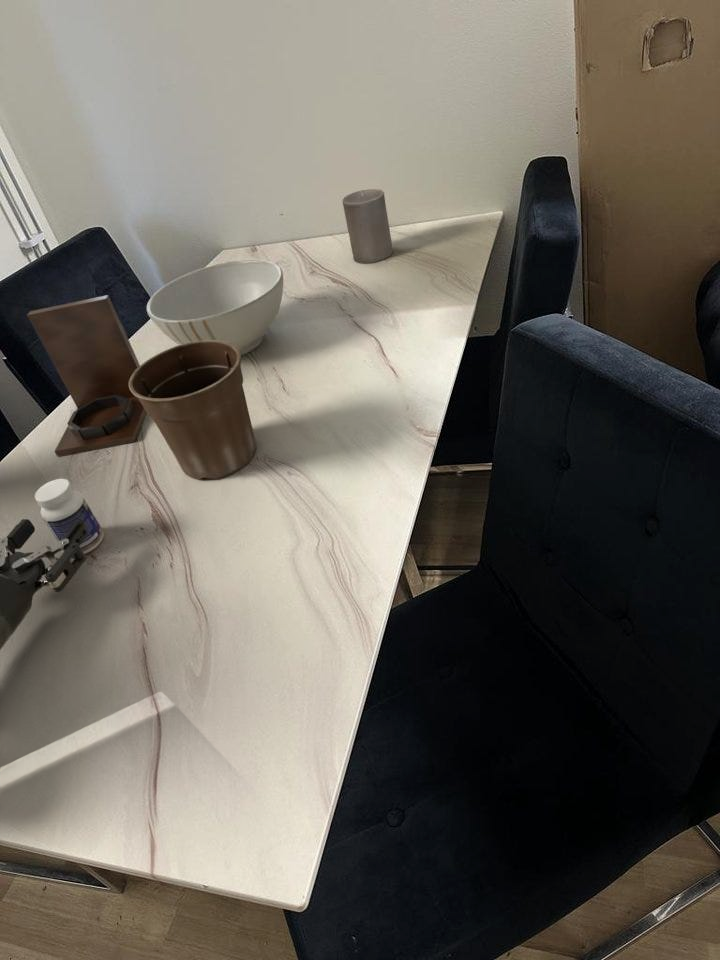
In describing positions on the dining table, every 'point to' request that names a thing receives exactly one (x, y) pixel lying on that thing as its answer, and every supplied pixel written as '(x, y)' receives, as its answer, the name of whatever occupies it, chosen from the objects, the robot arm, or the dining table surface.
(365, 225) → the pillar candle
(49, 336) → the stand
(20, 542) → the robot arm
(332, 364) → the dining table surface
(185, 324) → the decorative bowl
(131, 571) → the dining table surface
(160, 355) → the plant pot
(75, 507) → the pill bottle
